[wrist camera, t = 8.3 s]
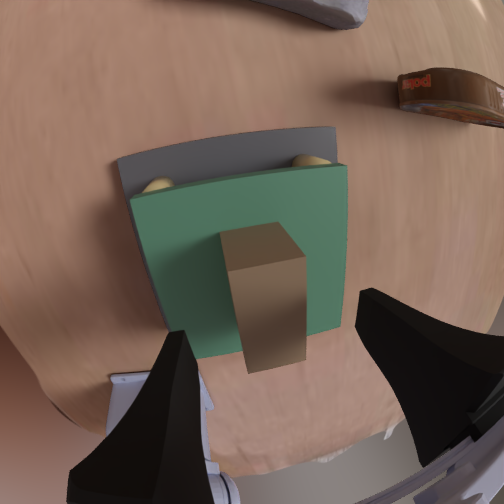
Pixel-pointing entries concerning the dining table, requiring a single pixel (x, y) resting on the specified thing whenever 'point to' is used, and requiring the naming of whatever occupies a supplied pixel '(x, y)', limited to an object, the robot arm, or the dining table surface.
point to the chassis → (222, 163)
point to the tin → (453, 96)
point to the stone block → (326, 11)
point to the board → (230, 206)
